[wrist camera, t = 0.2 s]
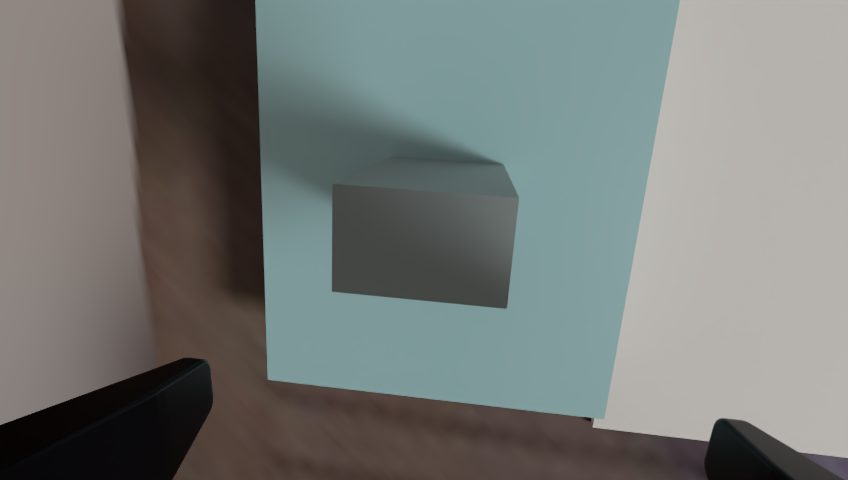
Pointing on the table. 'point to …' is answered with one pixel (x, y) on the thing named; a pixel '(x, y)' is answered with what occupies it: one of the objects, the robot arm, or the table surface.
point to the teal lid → (455, 192)
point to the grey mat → (744, 232)
